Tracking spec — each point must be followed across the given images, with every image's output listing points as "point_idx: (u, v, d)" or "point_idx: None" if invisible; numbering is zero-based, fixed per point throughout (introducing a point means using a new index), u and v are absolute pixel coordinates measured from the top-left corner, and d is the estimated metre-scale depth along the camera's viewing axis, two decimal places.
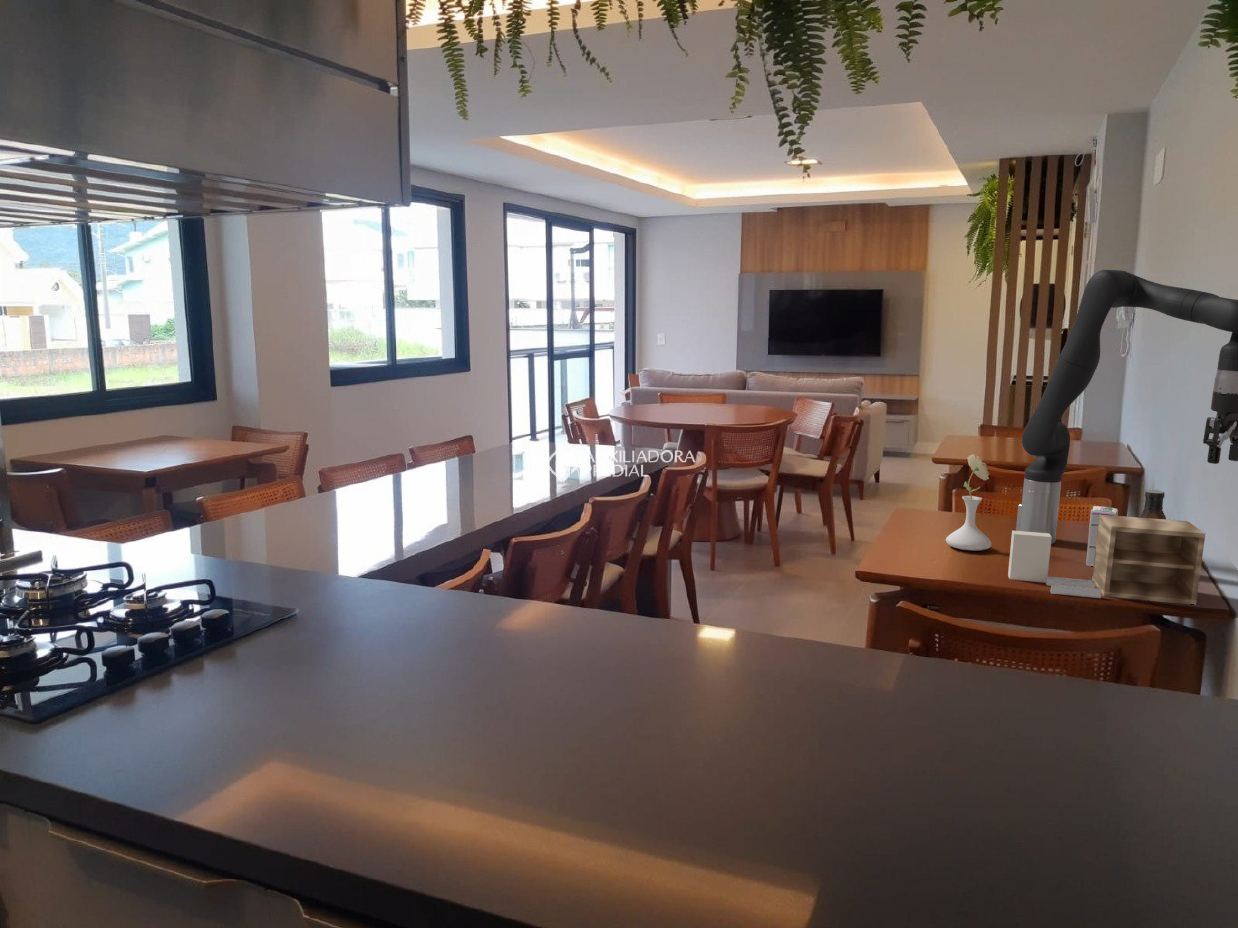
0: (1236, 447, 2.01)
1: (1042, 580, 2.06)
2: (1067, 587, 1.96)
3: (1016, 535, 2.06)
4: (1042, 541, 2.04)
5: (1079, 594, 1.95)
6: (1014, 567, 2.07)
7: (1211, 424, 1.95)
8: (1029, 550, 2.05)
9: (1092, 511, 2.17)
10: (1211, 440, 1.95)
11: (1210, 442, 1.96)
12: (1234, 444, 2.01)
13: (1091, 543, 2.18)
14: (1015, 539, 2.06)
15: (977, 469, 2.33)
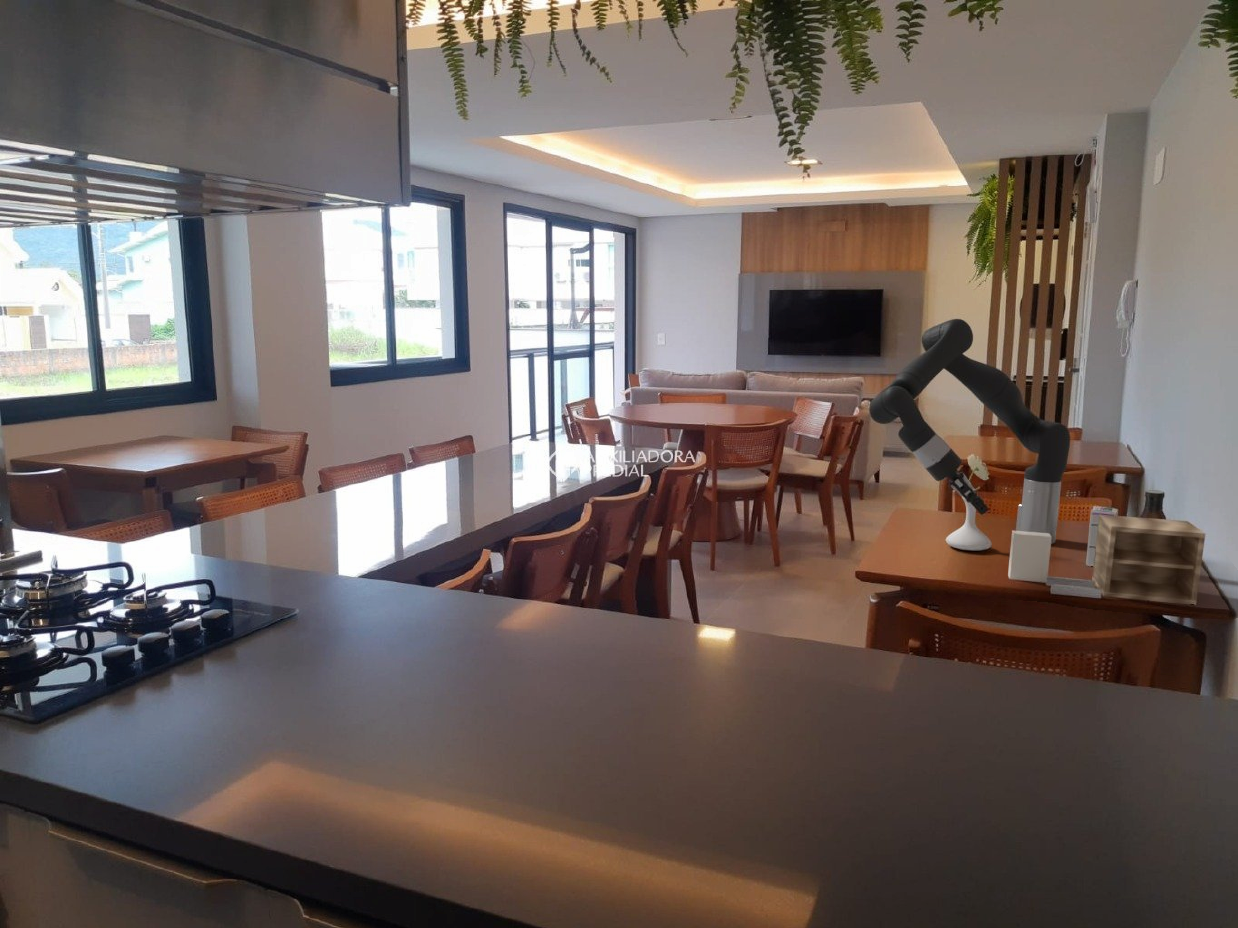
0: None
1: (1042, 580, 2.06)
2: (1067, 587, 1.96)
3: (1016, 535, 2.06)
4: (1042, 541, 2.04)
5: (1079, 594, 1.95)
6: (1014, 567, 2.07)
7: (960, 485, 2.02)
8: (1029, 550, 2.05)
9: (1092, 511, 2.17)
10: (972, 495, 2.02)
11: (973, 497, 2.02)
12: (969, 493, 2.12)
13: (1091, 543, 2.18)
14: (1015, 539, 2.06)
15: (977, 469, 2.33)
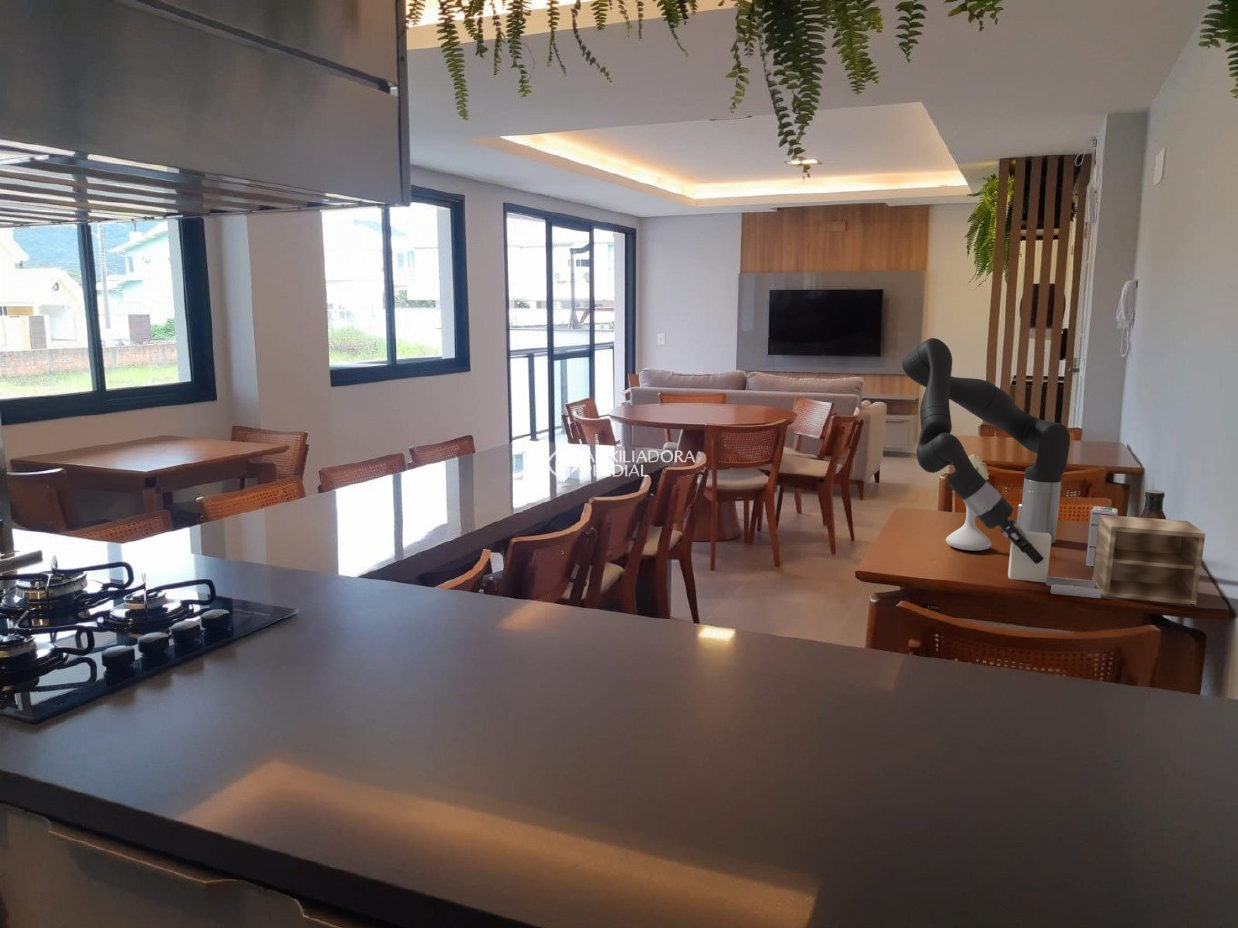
0: None
1: (1042, 580, 2.06)
2: (1067, 587, 1.96)
3: None
4: (1042, 541, 2.04)
5: (1079, 594, 1.95)
6: (1014, 567, 2.07)
7: (1017, 539, 2.02)
8: None
9: (1092, 511, 2.17)
10: (1026, 545, 2.03)
11: (1028, 548, 2.03)
12: None
13: (1091, 543, 2.18)
14: None
15: (977, 469, 2.33)
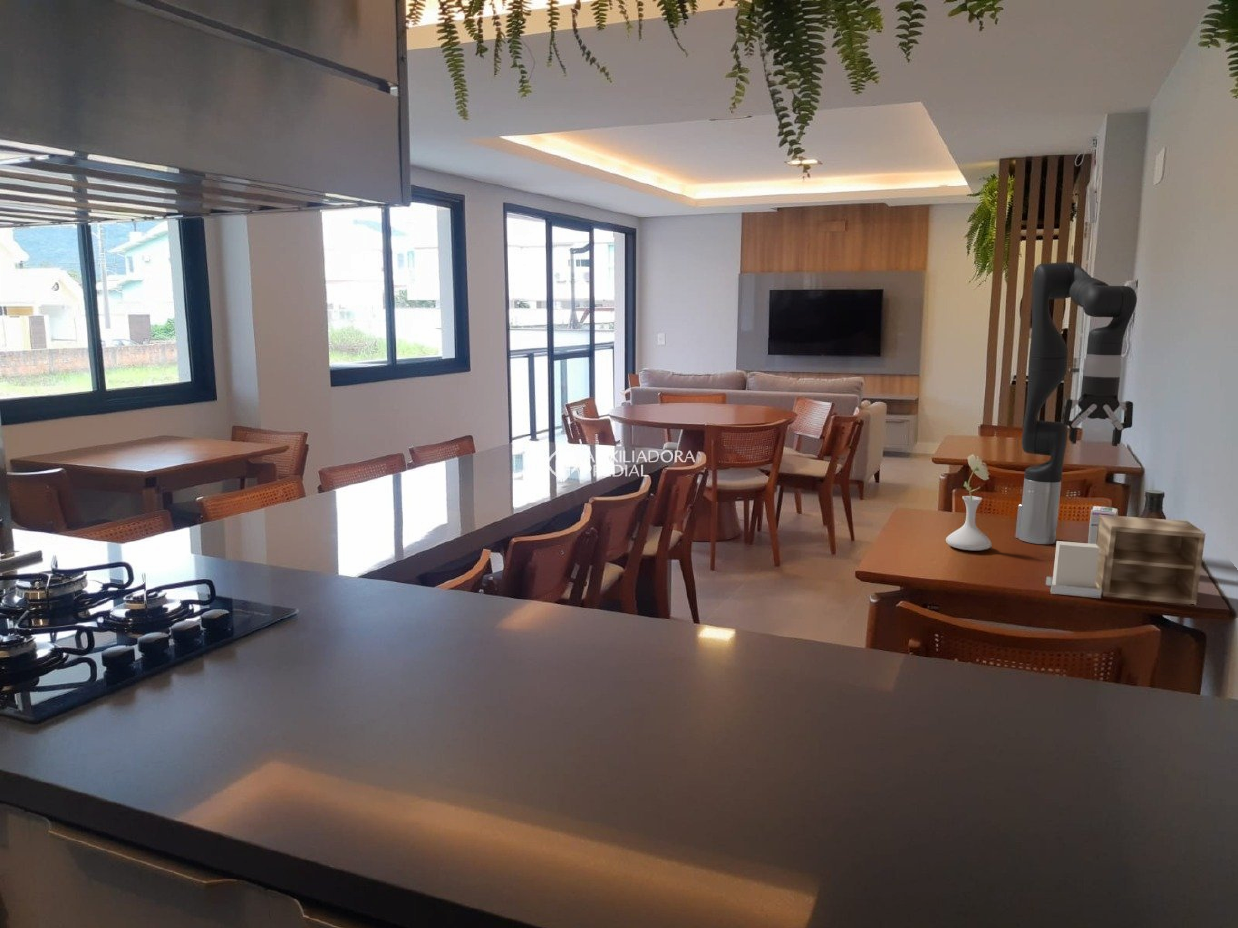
0: None
1: None
2: (1067, 587, 1.96)
3: (1062, 546, 1.97)
4: (1089, 552, 1.95)
5: (1079, 594, 1.95)
6: (1059, 579, 1.98)
7: None
8: (1075, 561, 1.96)
9: (1092, 511, 2.17)
10: None
11: None
12: None
13: (1091, 543, 2.18)
14: (1061, 550, 1.97)
15: (977, 469, 2.33)
